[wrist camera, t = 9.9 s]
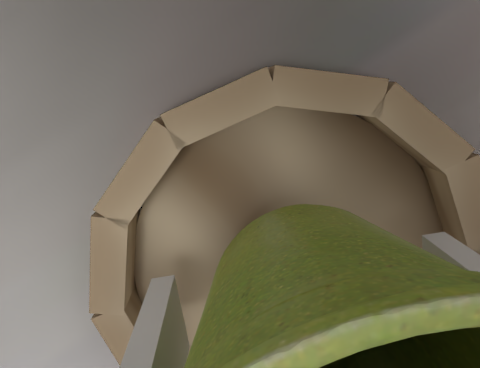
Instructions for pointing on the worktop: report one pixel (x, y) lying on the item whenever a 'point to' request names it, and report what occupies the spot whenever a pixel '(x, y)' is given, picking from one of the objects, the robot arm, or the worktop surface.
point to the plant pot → (335, 299)
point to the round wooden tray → (270, 181)
